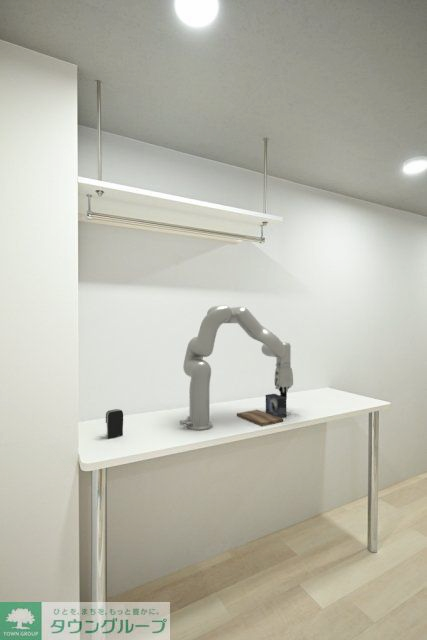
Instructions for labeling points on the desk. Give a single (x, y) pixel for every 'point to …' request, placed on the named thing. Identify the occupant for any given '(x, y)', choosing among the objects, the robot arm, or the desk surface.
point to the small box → (276, 405)
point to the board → (260, 417)
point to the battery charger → (114, 423)
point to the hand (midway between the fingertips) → (283, 399)
